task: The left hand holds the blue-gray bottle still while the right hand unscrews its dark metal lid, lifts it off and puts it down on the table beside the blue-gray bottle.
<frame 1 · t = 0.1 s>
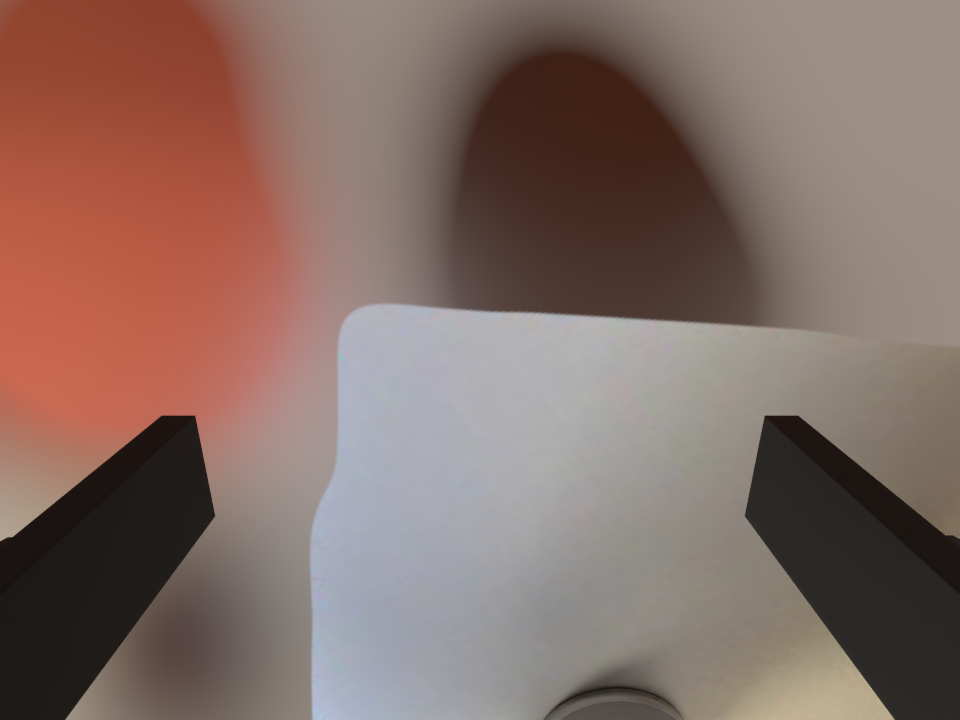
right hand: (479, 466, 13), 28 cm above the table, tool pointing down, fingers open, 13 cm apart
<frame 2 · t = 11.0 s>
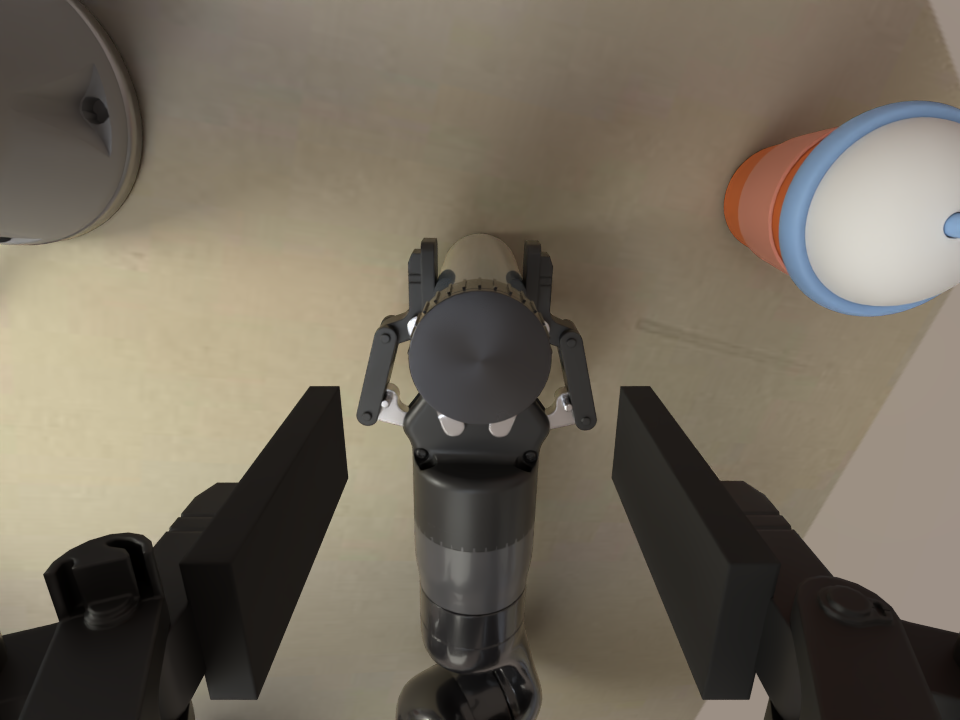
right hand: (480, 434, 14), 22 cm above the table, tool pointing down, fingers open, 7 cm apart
left hand: (480, 242, 29), fingers closed on blue-gray bottle, 4 cm apart
blue-gray bottle: (479, 270, 35), on the table, touching left hand
cup with straw: (771, 198, 34), on the table
lid: (480, 357, 20), point 16 cm above the table, screwed on, not yet turned
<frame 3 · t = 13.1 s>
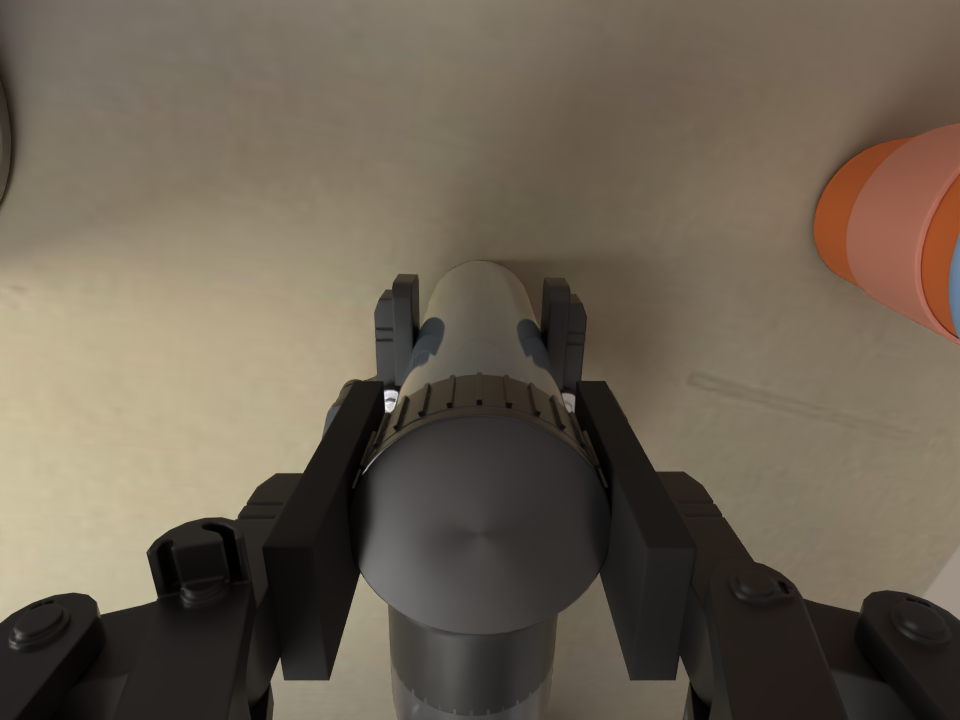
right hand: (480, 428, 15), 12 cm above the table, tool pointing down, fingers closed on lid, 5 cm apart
blue-gray bottle: (479, 309, 26), on the table, touching left hand
cup with straw: (878, 213, 25), on the table
lid: (479, 523, 11), point 16 cm above the table, screwed on, not yet turned, touching right hand
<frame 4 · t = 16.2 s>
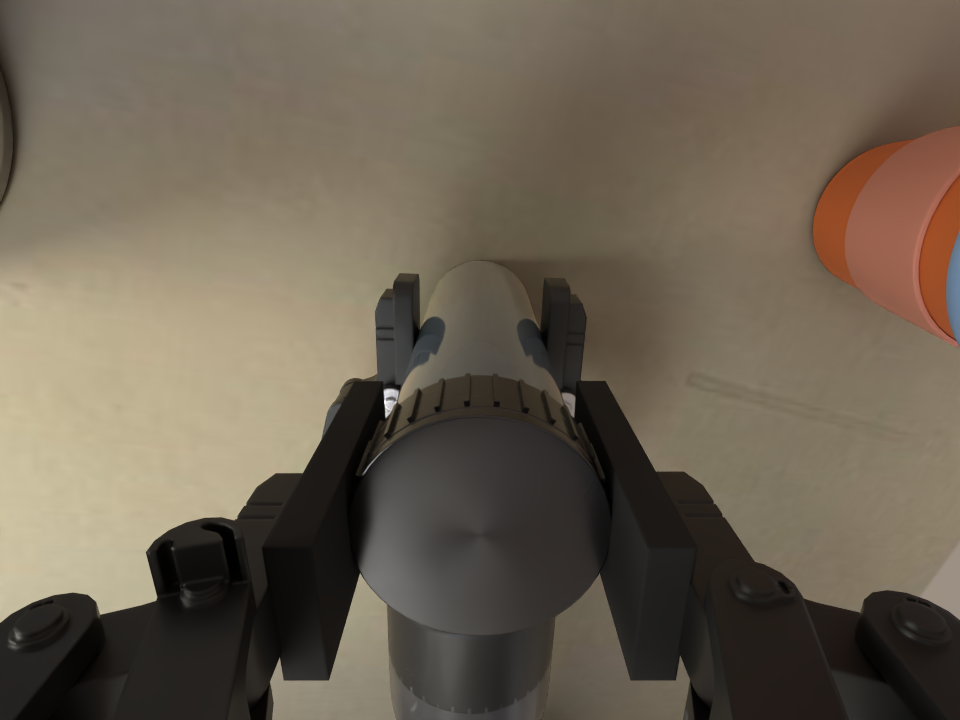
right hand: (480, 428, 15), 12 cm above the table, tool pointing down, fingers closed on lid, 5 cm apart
blue-gray bottle: (479, 309, 26), on the table, touching left hand
cup with straw: (877, 215, 25), on the table
lid: (479, 523, 11), point 16 cm above the table, turned 92° so far, risen 0.1 cm, still on its thread, touching right hand
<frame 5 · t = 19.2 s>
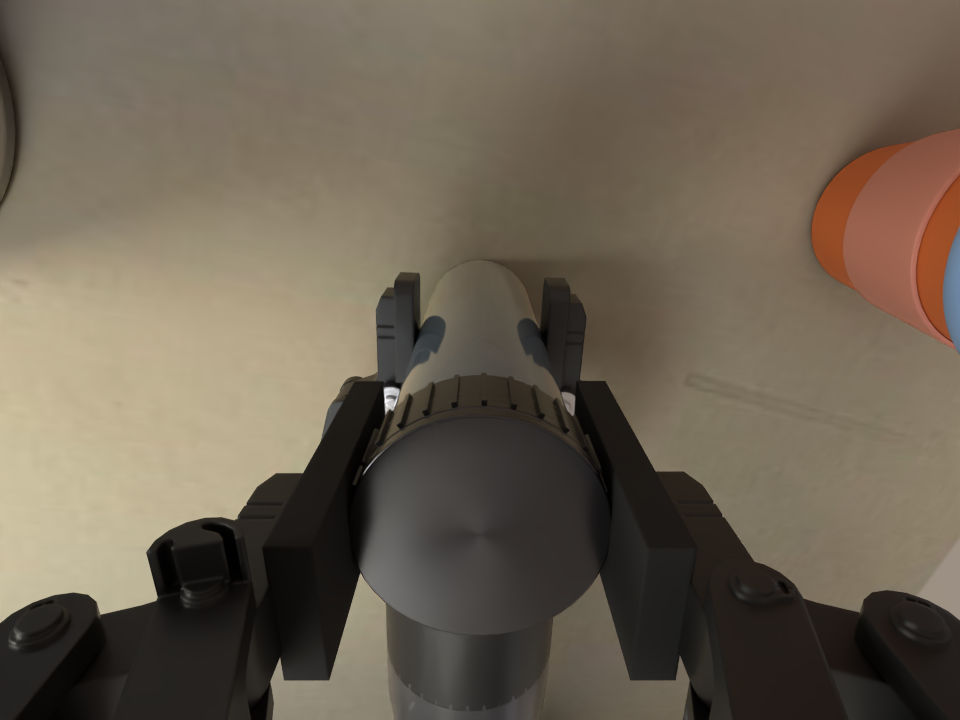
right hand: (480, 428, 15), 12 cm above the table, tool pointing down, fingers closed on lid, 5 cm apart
blue-gray bottle: (479, 309, 26), on the table, touching left hand
cup with straw: (875, 218, 25), on the table
lid: (479, 523, 11), point 16 cm above the table, turned 185° so far, risen 0.2 cm, still on its thread, touching right hand
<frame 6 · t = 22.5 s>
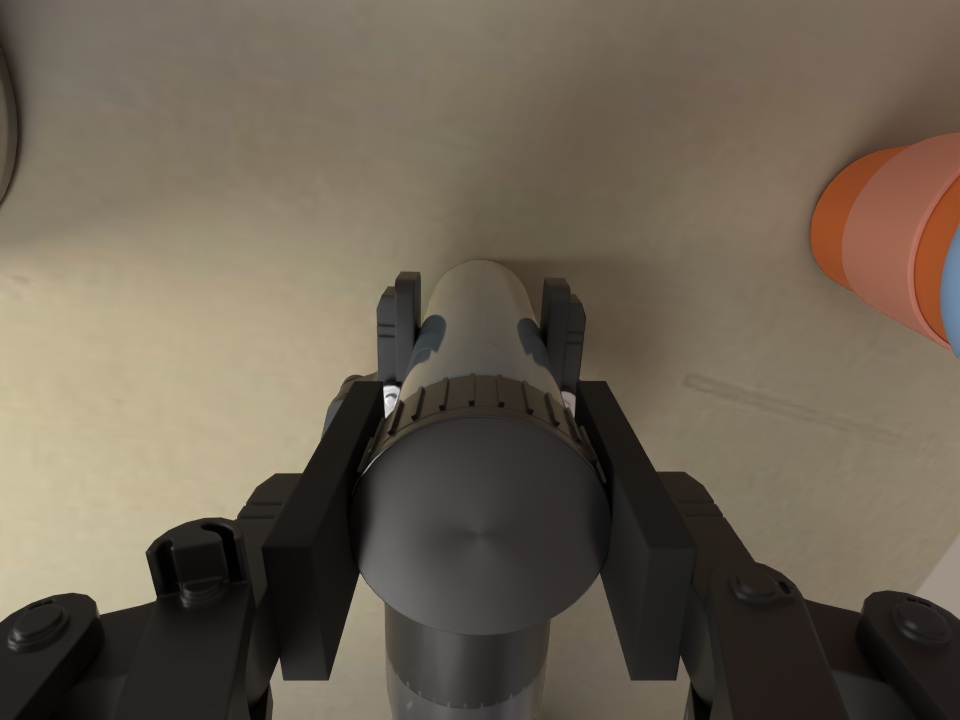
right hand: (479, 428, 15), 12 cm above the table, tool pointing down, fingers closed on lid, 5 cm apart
blue-gray bottle: (479, 308, 26), on the table, touching left hand
cup with straw: (874, 220, 25), on the table
lid: (479, 523, 11), point 17 cm above the table, turned 277° so far, risen 0.3 cm, still on its thread, touching right hand
when the right hand's fingers open (0 cm above the table, at t = 29.2 s): lid drops 3 cm, point 2 cm above the table.
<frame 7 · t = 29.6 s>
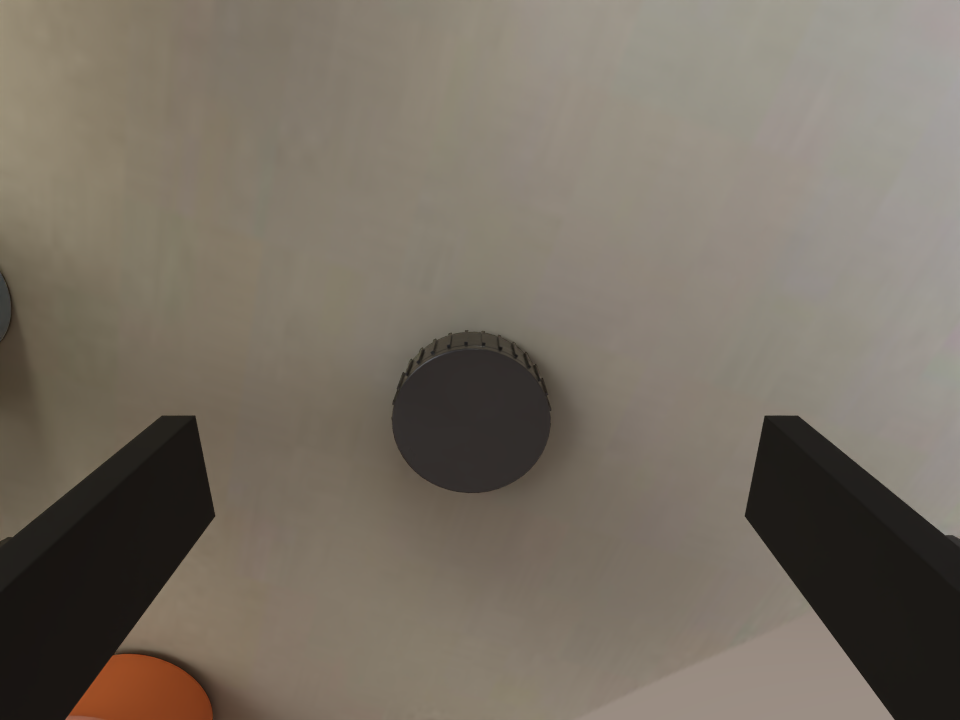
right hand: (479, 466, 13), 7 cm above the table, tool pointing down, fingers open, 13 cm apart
cup with straw: (145, 702, 24), on the table
lid: (471, 419, 18), point 2 cm above the table, off its thread
when the left hand's fingers open (6 cm above the table, at t = 29.8 s): blue-gray bottle stays where it is, on the table.
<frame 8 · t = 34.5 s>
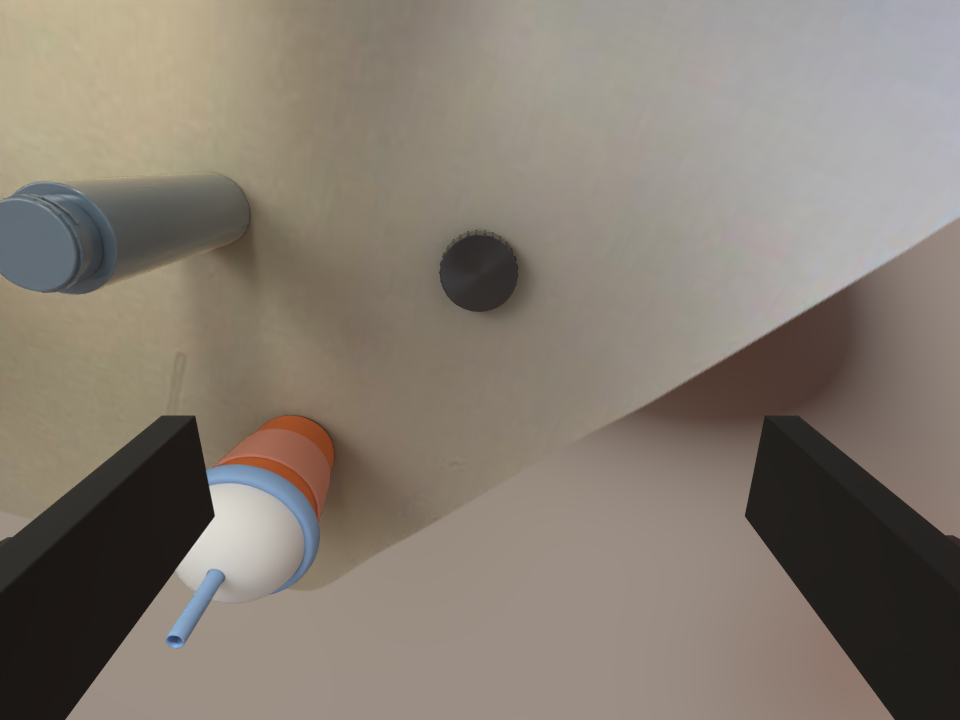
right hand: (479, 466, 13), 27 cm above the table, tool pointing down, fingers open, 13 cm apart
blue-gray bottle: (214, 209, 37), on the table
cup with straw: (296, 448, 43), on the table
lid: (478, 273, 36), point 2 cm above the table, off its thread
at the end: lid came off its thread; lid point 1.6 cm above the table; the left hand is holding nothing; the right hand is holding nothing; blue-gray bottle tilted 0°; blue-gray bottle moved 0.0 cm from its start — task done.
